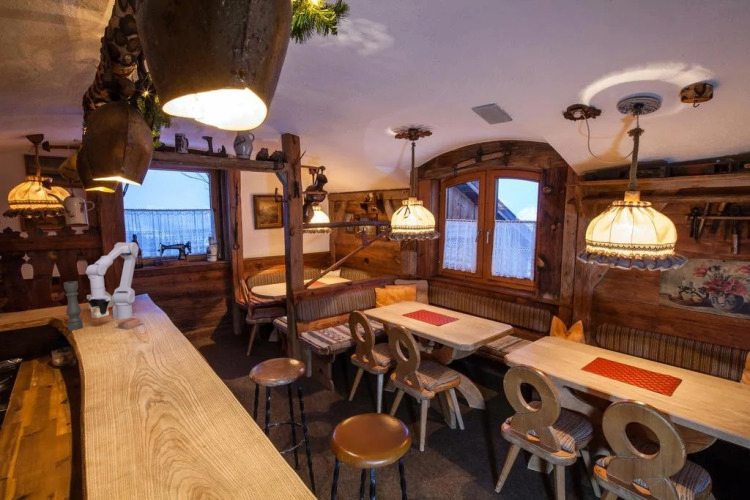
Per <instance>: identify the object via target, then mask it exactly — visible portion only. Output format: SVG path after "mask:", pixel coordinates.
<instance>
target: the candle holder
mask: <svg viewBox="0 0 750 500" xmlns="http://www.w3.org/2000/svg"><path fill="white" fill-rule="evenodd" d="M63 288H64V291H65V292H66V293H65V296H66V298H67V306H66V315H67V316H68V320H67V331H70V332H74V331H73V330H75V331H77V330H80V329H83V328H84V325H83V320H82V318H81V317H80V316H81V312H82V308H81V307H80V304H79V301H78V297H77V296H78V295H79V292H78V289H79V282H78V280H75V281H74V280H73V281H72V280H71V281H65V282H63Z"/></svg>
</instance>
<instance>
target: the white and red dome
mask: <svg viewBox="0 0 750 500" xmlns="http://www.w3.org/2000/svg"><path fill="white" fill-rule="evenodd" d="M105 295H107V296H109V297H111V300H110V302H109V304H108V310H109V311H110V310H113V306H114V305H115V303H113V301H112V296H113V295H111V294H110V293H109V292H108V291H107V287H105ZM90 300H91V299H88V301H90ZM87 308H88V312H90V313H91V308H92V306H91V305H90V304H89V303H88V306H87Z"/></svg>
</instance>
